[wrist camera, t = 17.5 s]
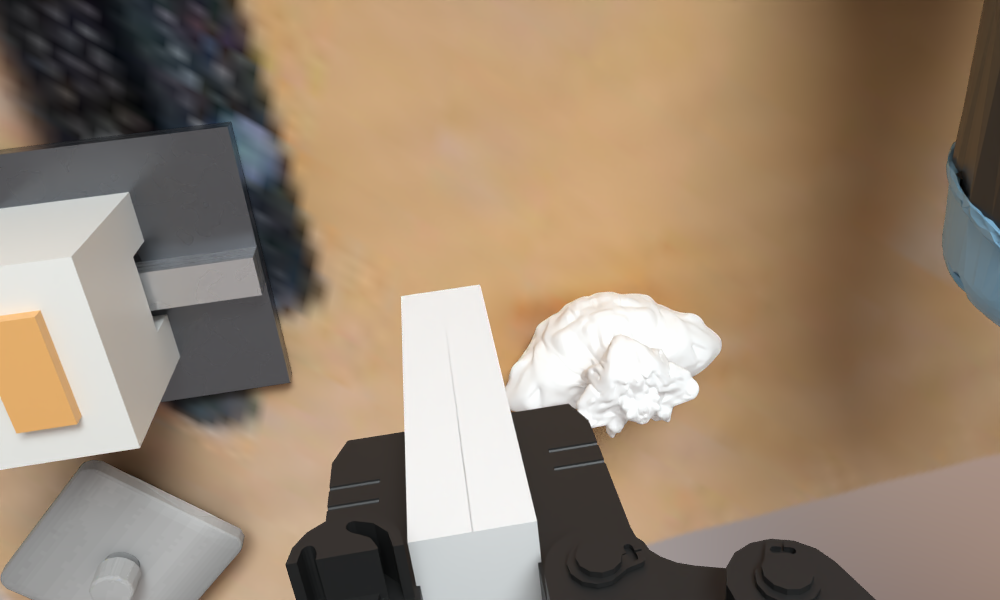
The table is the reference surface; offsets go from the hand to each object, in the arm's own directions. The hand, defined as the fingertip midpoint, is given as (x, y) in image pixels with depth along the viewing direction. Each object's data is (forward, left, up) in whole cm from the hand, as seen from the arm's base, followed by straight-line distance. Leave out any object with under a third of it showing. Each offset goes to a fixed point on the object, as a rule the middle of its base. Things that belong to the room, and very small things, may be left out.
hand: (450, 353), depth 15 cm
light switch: (+19, +23, -26) cm, 40 cm away
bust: (-9, +14, -26) cm, 31 cm away
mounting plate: (+16, +7, -26) cm, 31 cm away
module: (+16, +7, -25) cm, 30 cm away
